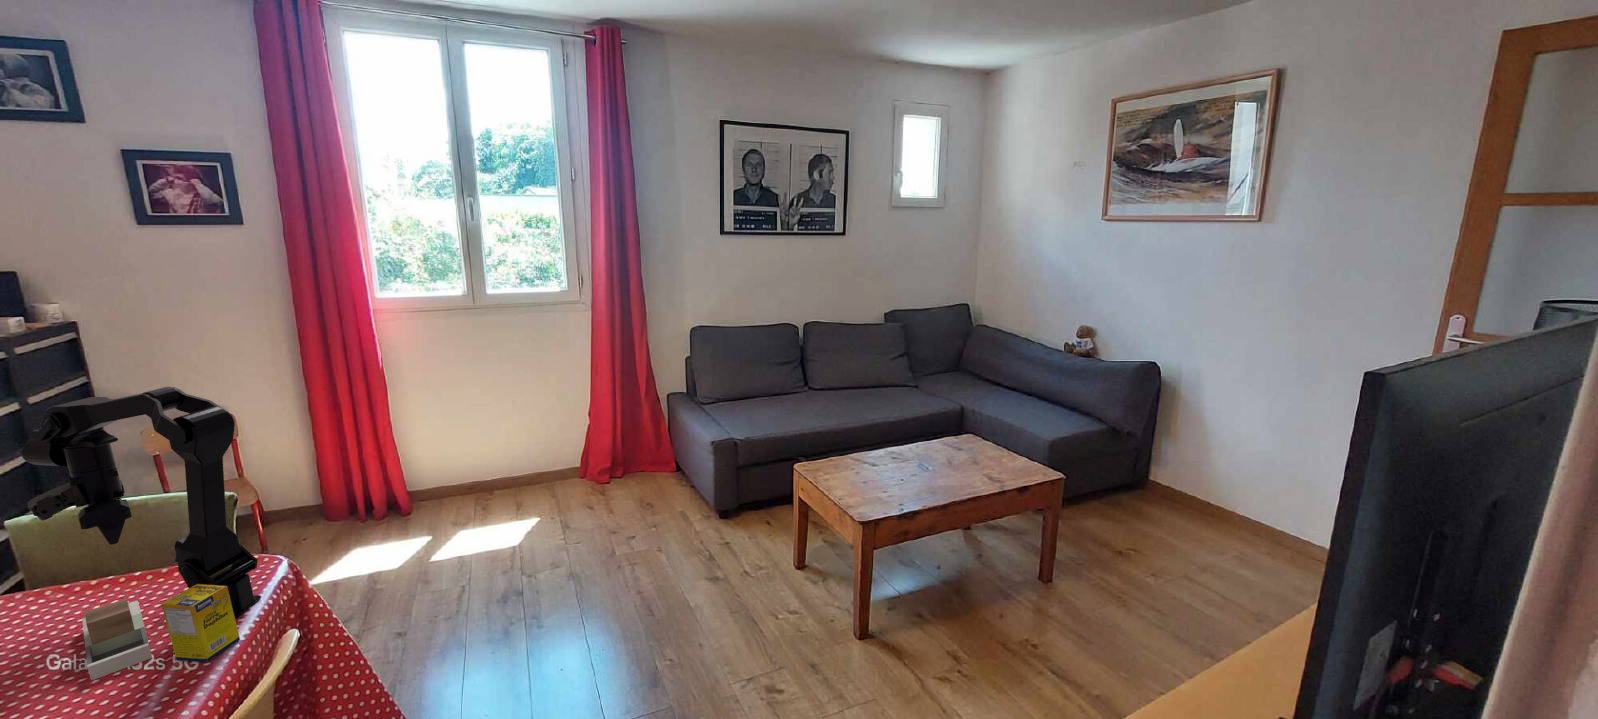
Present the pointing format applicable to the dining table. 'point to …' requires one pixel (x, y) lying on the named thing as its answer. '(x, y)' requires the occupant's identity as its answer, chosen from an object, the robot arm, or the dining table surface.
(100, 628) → the walnut block
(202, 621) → the supplement box
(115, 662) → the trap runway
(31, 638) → the dining table surface
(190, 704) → the dining table surface
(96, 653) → the pad
